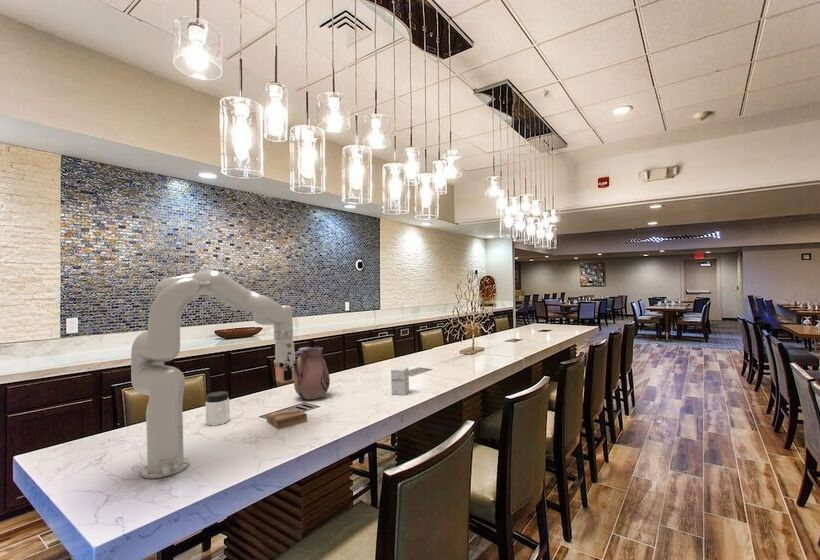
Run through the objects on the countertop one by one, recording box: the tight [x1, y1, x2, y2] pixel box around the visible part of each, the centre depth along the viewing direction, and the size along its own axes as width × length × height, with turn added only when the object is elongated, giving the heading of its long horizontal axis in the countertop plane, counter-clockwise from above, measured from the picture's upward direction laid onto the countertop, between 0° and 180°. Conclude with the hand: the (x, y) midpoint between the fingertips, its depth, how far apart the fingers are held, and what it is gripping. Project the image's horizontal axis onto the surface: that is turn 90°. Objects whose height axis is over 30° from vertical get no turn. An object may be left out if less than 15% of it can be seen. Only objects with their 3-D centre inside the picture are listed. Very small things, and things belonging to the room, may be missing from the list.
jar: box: [205, 390, 231, 427], centre depth 163 cm, size 9×8×12 cm
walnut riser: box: [266, 407, 308, 429], centre depth 160 cm, size 12×12×3 cm
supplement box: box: [390, 366, 410, 396], centre depth 197 cm, size 7×7×13 cm
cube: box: [275, 366, 295, 384], centre depth 161 cm, size 6×6×6 cm
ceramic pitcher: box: [293, 346, 331, 401], centre depth 194 cm, size 18×21×25 cm
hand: (285, 378), depth 161 cm, fingers closed on cube, 5 cm apart
